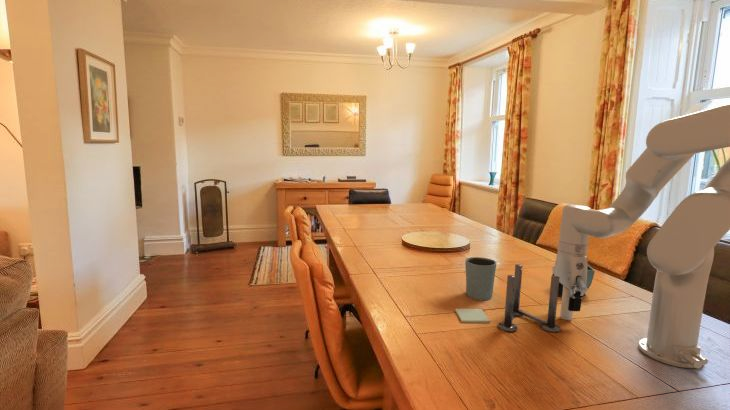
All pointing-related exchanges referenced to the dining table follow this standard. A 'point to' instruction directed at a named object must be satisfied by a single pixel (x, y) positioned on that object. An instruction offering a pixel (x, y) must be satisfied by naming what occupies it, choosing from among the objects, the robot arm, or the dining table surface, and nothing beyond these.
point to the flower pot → (589, 276)
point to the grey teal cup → (480, 277)
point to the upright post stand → (514, 310)
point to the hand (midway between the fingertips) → (565, 303)
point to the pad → (472, 315)
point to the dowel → (566, 304)
